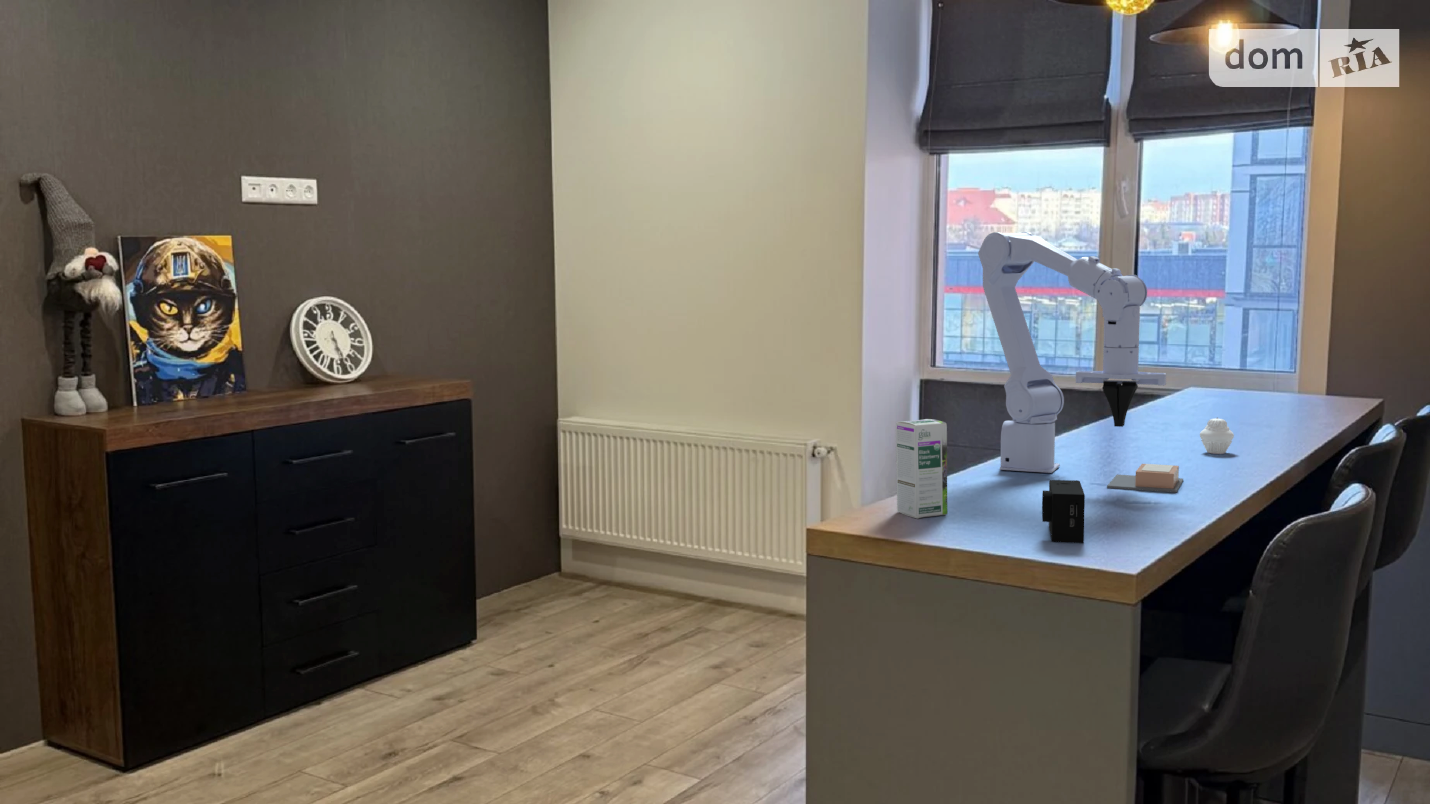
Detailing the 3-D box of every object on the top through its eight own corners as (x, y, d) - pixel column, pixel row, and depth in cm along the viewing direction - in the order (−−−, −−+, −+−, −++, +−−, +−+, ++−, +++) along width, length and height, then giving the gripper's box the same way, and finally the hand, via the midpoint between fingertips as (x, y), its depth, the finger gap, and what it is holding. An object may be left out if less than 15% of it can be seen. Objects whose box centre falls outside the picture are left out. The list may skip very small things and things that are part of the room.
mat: (1106, 488, 201) (1107, 485, 201) (1116, 476, 210) (1116, 474, 210) (1176, 492, 196) (1176, 490, 196) (1183, 480, 205) (1183, 478, 205)
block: (1135, 470, 199) (1173, 472, 197) (1142, 462, 206) (1178, 464, 204) (1135, 486, 200) (1173, 488, 197) (1141, 477, 207) (1178, 480, 204)
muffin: (1238, 455, 230) (1239, 419, 229) (1206, 455, 230) (1207, 419, 229) (1225, 449, 236) (1226, 414, 235) (1194, 450, 236) (1195, 415, 235)
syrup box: (916, 519, 180) (916, 424, 178) (895, 511, 185) (895, 420, 184) (948, 515, 182) (948, 421, 181) (926, 508, 188) (926, 417, 186)
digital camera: (1040, 525, 175) (1040, 478, 174) (1078, 526, 174) (1079, 479, 173) (1042, 542, 165) (1043, 492, 164) (1083, 543, 164) (1084, 493, 163)
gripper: (1073, 347, 202) (1071, 427, 203) (1163, 349, 195) (1161, 431, 197) (1080, 344, 208) (1078, 421, 210) (1168, 346, 202) (1166, 425, 203)
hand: (1119, 425), depth 204 cm, fingers closed
